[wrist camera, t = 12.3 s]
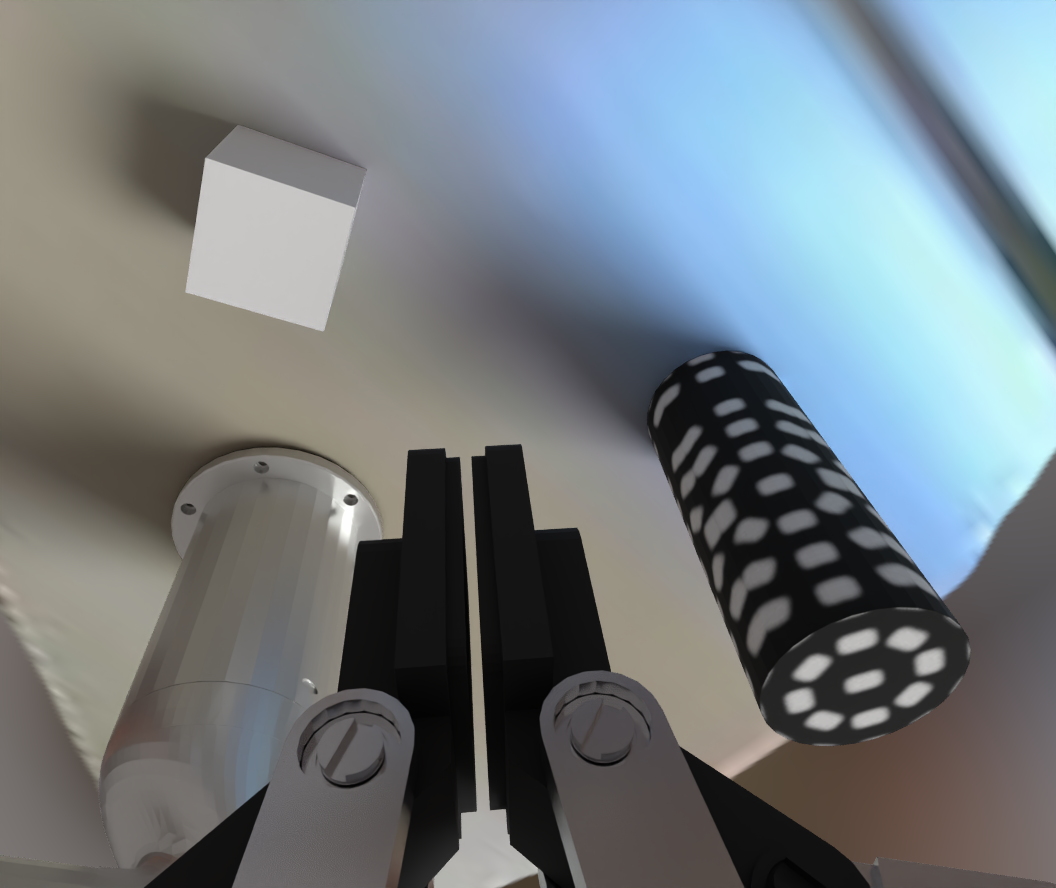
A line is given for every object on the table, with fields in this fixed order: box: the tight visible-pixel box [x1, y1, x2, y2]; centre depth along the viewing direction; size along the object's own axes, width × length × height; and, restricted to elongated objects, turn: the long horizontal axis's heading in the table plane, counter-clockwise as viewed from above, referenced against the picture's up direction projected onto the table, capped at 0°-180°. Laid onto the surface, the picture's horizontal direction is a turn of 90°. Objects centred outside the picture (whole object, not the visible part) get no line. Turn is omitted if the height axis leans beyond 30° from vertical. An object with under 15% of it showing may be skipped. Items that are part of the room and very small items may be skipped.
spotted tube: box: [647, 351, 971, 746], centre depth 38 cm, size 8×8×20 cm
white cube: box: [186, 125, 367, 332], centre depth 35 cm, size 6×6×6 cm
